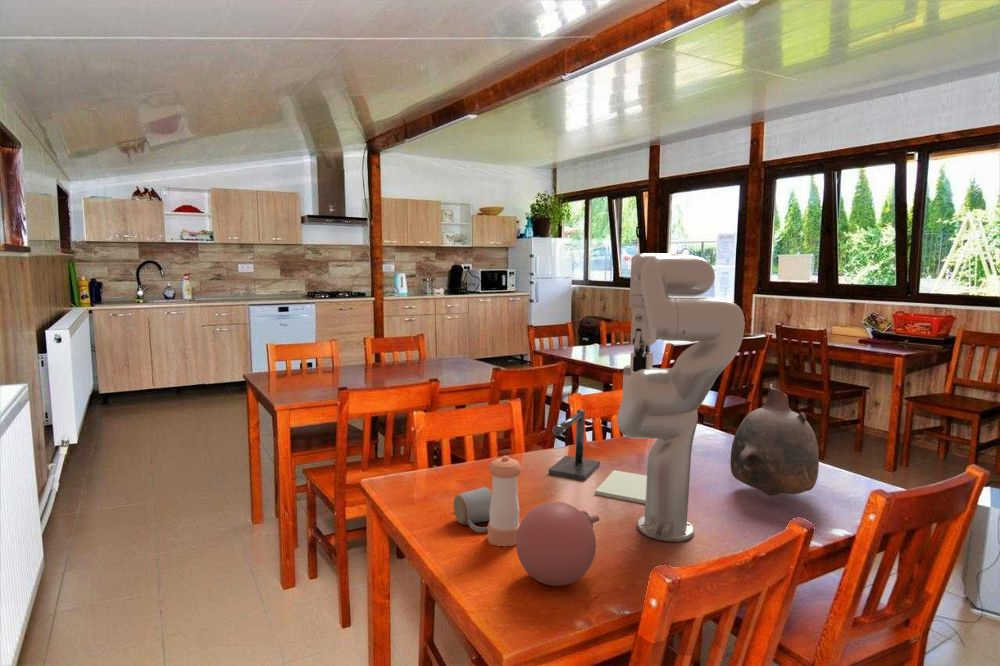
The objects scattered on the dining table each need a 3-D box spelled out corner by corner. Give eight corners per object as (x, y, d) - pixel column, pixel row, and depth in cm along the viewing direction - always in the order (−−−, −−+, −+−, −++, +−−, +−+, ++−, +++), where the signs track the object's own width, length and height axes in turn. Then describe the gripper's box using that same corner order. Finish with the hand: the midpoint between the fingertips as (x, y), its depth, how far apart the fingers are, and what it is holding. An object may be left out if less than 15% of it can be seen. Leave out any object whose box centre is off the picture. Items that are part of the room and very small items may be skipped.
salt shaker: (498, 529, 142) (499, 449, 139) (526, 537, 138) (527, 454, 136) (481, 541, 136) (482, 457, 133) (509, 550, 132) (511, 464, 129)
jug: (810, 521, 149) (820, 400, 145) (718, 501, 160) (726, 388, 157) (820, 490, 169) (829, 383, 166) (738, 474, 181) (745, 373, 177)
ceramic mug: (451, 518, 147) (451, 488, 146) (481, 512, 151) (482, 482, 150) (470, 537, 138) (471, 504, 137) (502, 530, 142) (503, 498, 141)
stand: (573, 492, 165) (575, 428, 162) (535, 485, 169) (537, 423, 167) (599, 466, 186) (601, 409, 183) (565, 460, 190) (567, 405, 188)
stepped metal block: (654, 408, 161) (656, 355, 159) (622, 404, 165) (624, 352, 163) (657, 404, 165) (659, 353, 163) (625, 401, 168) (627, 350, 167)
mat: (663, 507, 156) (663, 503, 156) (595, 494, 164) (595, 490, 163) (676, 484, 172) (676, 480, 172) (613, 473, 180) (613, 470, 180)
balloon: (627, 578, 121) (630, 503, 119) (551, 612, 109) (554, 529, 107) (573, 547, 133) (575, 479, 131) (499, 575, 121) (500, 501, 119)
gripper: (651, 304, 152) (648, 376, 155) (664, 300, 167) (661, 367, 170) (622, 302, 156) (619, 374, 158) (637, 299, 171) (634, 364, 173)
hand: (641, 369), depth 164 cm, fingers closed on stepped metal block, 4 cm apart
